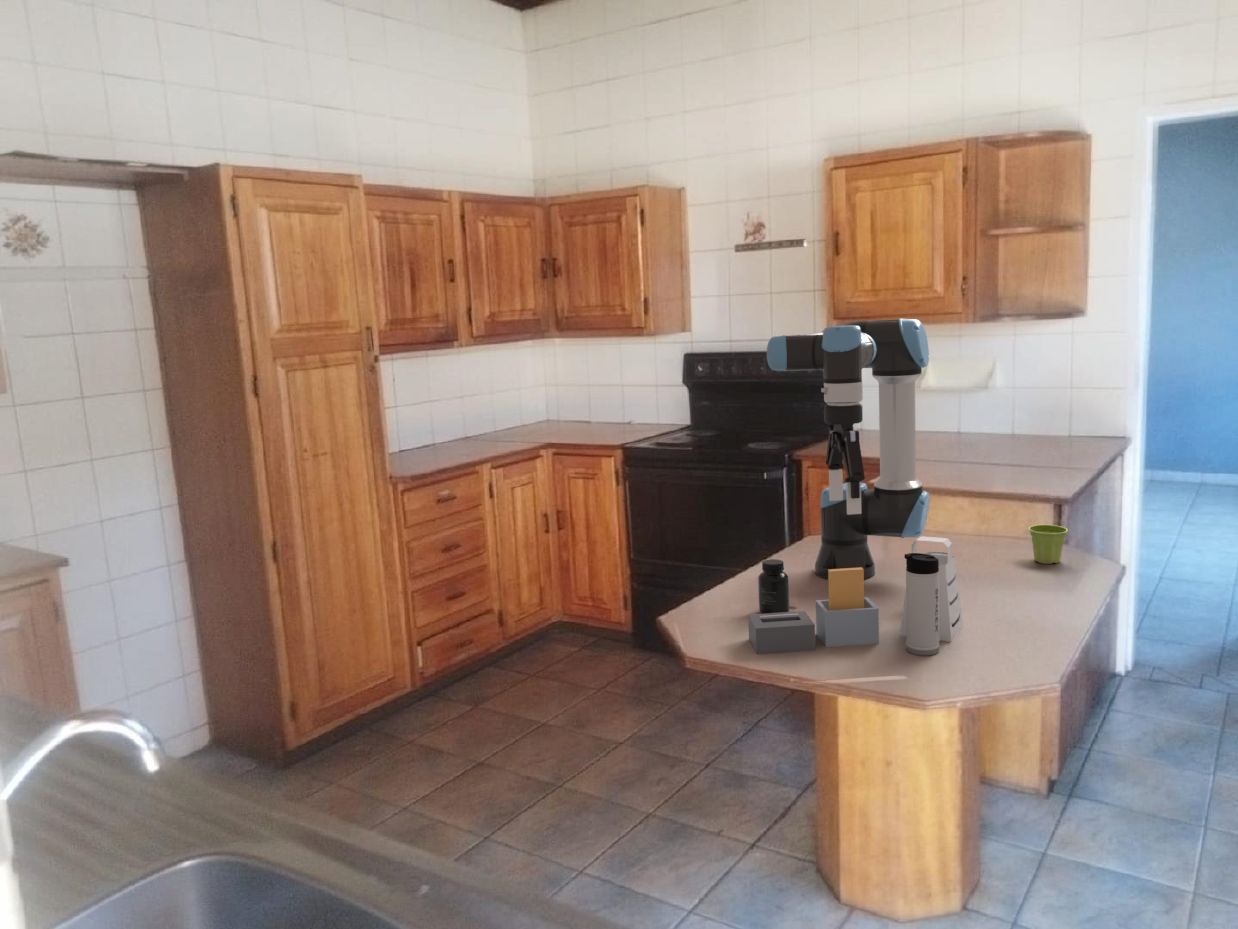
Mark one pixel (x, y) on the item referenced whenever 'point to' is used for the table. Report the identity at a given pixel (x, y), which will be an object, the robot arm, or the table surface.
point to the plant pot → (1047, 542)
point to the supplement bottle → (773, 588)
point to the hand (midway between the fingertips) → (844, 507)
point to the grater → (943, 594)
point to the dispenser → (781, 632)
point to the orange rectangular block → (846, 588)
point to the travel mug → (922, 604)
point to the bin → (847, 624)
